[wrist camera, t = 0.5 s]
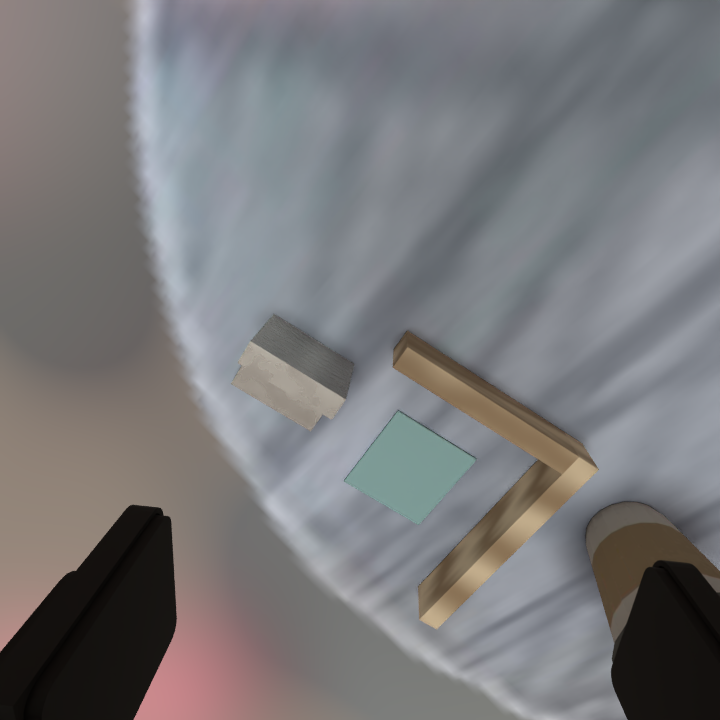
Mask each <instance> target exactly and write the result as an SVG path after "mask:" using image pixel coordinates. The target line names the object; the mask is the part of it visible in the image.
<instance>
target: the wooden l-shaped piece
mask: <svg viewBox="0 0 720 720" xmlns="http://www.w3.org/2000/svg"><path fill="white" fill-rule="evenodd" d="M393 368H394V369H396V370H397V371H399V372H401V373H402V374H404V375H405V376H407V377H409V378H410V379H412V380H413V381H415V382H417V383H418V384H420V385H421V386H423V387H424V388H426V389H428V390H429V391H431V392H432V393H434V394H436V395H437V396H439V397H440V398H442V399H443V400H445V401H447V402H448V403H450V404H451V405H453V406H455V407H456V408H458V409H459V410H461V411H462V412H464V413H466V414H467V415H469V416H470V417H472V418H474V419H475V420H477V421H478V422H480V423H482V424H483V425H485V426H486V427H488V428H489V429H491V430H493V431H494V432H496V433H497V434H499V435H501V436H502V437H504V438H505V439H507V440H508V441H510V442H512V443H513V444H515V445H516V446H518V447H520V448H521V449H523V450H524V451H526V452H527V453H529V454H531V455H532V456H534V457H535V458H537V459H538V460H537V461H536V463H535V464H534V465H533V466H532V467H531V468H530V469H529V470H528V471H527V472H526V473H525V474H524V475H523V476H522V477H521V478H520V479H519V481H518V482H517V483H516V484H515V485H514V486H513V487H512V488H511V489H510V490H509V491H508V492H507V493H506V494H505V495H504V496H503V497H502V498H501V500H500V501H499V502H498V503H497V504H496V505H495V506H494V507H493V508H492V509H491V510H490V511H489V512H488V513H487V514H486V515H485V516H484V518H483V519H482V520H481V521H480V522H479V523H478V524H477V525H476V526H475V527H474V528H473V529H472V530H471V531H470V532H469V533H468V534H467V536H466V537H465V538H464V539H463V540H462V541H461V542H460V543H459V544H458V545H457V546H456V547H455V548H454V549H453V550H452V551H451V552H450V553H449V555H448V556H447V557H446V558H445V559H444V560H443V561H442V562H441V563H440V564H439V565H438V566H437V567H436V568H435V569H434V570H433V571H432V573H431V574H430V575H429V576H428V577H427V578H426V579H425V580H424V581H423V582H422V583H421V584H420V585H419V586H418V595H419V620H421V621H423V622H424V623H426V624H428V625H430V626H432V627H433V628H435V629H437V628H438V627H439V626H440V625H441V624H442V623H443V622H444V621H446V620H447V619H448V618H449V617H450V616H451V615H452V614H453V613H454V612H455V611H456V610H457V609H458V608H459V607H460V606H461V605H462V604H463V603H464V602H465V601H466V600H467V599H468V598H469V597H470V596H471V595H472V594H473V593H474V592H475V591H476V590H477V589H478V588H479V587H480V586H481V585H482V584H483V583H484V582H485V581H486V580H487V579H488V578H489V577H490V576H491V575H492V574H493V573H494V572H495V571H496V570H497V569H498V568H499V567H500V566H501V565H502V564H503V563H504V562H505V561H506V560H507V559H508V558H510V557H511V556H512V555H513V554H514V553H515V552H516V551H517V550H518V549H519V548H520V547H521V546H522V545H523V544H524V543H525V542H526V541H527V540H528V539H529V538H530V537H531V536H532V535H533V534H534V533H535V532H536V531H537V530H538V529H539V528H540V527H541V526H542V525H543V524H544V523H545V522H546V521H547V520H548V519H549V518H550V517H551V516H552V515H553V514H554V513H555V512H556V511H557V510H558V509H559V508H560V507H561V506H562V505H563V504H564V503H565V502H566V501H567V500H568V499H569V498H570V497H571V496H572V495H574V494H575V493H576V492H577V491H578V490H579V489H580V488H581V487H582V486H583V485H584V484H585V483H586V482H587V481H588V480H589V479H590V478H591V477H592V476H593V475H594V474H595V473H596V472H597V471H598V470H599V469H598V468H597V466H596V464H595V463H594V461H593V460H592V458H591V457H590V455H589V453H588V452H587V450H586V449H585V447H584V446H583V444H582V443H581V442H579V441H577V440H576V439H574V438H573V437H571V436H570V435H568V434H567V433H565V432H563V431H562V430H560V429H559V428H557V427H556V426H554V425H553V424H551V423H550V422H548V421H546V420H545V419H543V418H542V417H540V416H539V415H537V414H536V413H534V412H532V411H531V410H529V409H528V408H526V407H525V406H523V405H522V404H520V403H519V402H517V401H515V400H514V399H512V398H511V397H509V396H508V395H506V394H505V393H503V392H502V391H500V390H498V389H497V388H495V387H494V386H492V385H491V384H489V383H488V382H486V381H484V380H483V379H481V378H480V377H478V376H477V375H475V374H474V373H472V372H471V371H469V370H467V369H466V368H464V367H463V366H461V365H460V364H458V363H457V362H455V361H453V360H452V359H450V358H449V357H447V356H446V355H444V354H443V353H441V352H440V351H438V350H436V349H435V348H433V347H432V346H430V345H429V344H427V343H426V342H424V341H422V340H421V339H419V338H418V337H416V336H415V335H413V334H412V333H410V332H409V331H407V332H406V333H405V335H404V336H403V337H402V339H401V340H400V341H399V343H398V344H397V346H396V347H395V348H394V353H393Z"/></svg>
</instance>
